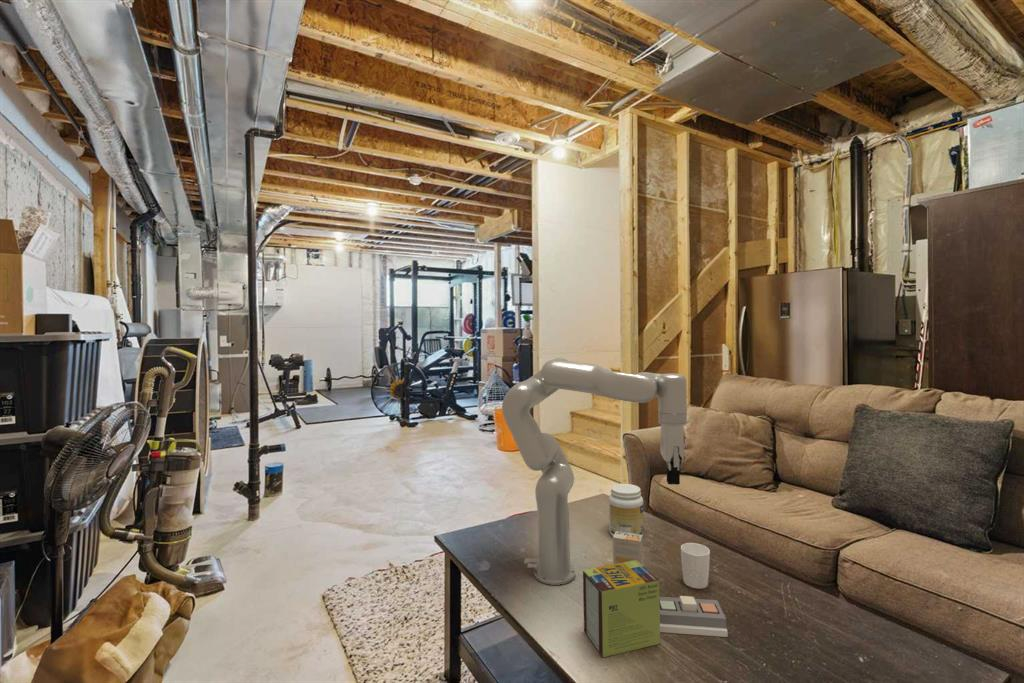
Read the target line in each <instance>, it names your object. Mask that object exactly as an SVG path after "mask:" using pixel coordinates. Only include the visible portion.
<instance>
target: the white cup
mask: <svg viewBox="0 0 1024 683" xmlns="http://www.w3.org/2000/svg"><path fill="white" fill-rule="evenodd" d="M710 552H711V550H710V549H709V548H708V547H707V546H706V545H704V544H700V543H697V542H686V543H683V544H682V545H681V546H680V557H681V569H682V570H681V572H682V581H683V583H684V584H685V586H688V587H689V588H691V589H697V590H699V589H700V590H701V589H705V588H707V587H708V586H709V576H710V559H711V558H710V554H711V553H710Z"/></svg>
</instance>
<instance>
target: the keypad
mask: <svg viewBox="0 0 1024 683" xmlns="http://www.w3.org/2000/svg"><path fill="white" fill-rule="evenodd" d="M694 599H695V601H696V604H697V612H682V610H681V607H680V597H674V596H673V597H670V596H669V597H668V596H659V602H660V601H673V602H674V605H675V608H676V611H666V610H660V633H664V634H665V633H667V634H681V635H692V636H693V635H694V636H695V635H696V636H707V637H708V636H709V637H721V638H728V631H729V630H728V629H727V617H726V616H725V613H724V612H723V610H722V607H721V605H720V604H719V601H718V600H717V599H703V598H694ZM700 603H706V604H714V605H715V607H716V609H717V611H718V614H712V613H702V611H701V609H700Z"/></svg>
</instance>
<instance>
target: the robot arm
mask: <svg viewBox="0 0 1024 683" xmlns="http://www.w3.org/2000/svg"><path fill="white" fill-rule="evenodd" d="M558 390H565V391H572V392H579V393H585V394H591V395H595V396H598V397H604V398H608V399H613V400H617V401H623V402H624V401H625V402H632V403H637V404H638V403H639V404H643V403H648V402H651V401H652V400H653V399H654V398H656V397H657V411H658V412H657V414H658V415H657V416H658V417H657V418H658V421H657V423H658V424H659V425H660V444H659V445H660V448H659V453H660V455H661V457H662V459H663V460H664V461H665V462H666V483H667V485H680V483H681V481H680V478H681V476H680V475H681V474H680V463H681V462H684V460H685V459H684V458H685V441H684V440H685V439H684V437H685V436H684V433H685V432H684V426H686V425H688V419H687V418H688V411H687V410H688V407H687V406H688V402H687V401H688V400H687V378H686V376H685V375H684V374H683V373H671V372H669V373H655V372H649V371H641V372H638V373H636V374H630V373H623V372H618V371H613V370H610V369H606V368H604V367H602V366H601V365H598V364H594V363H593V364H592V363H583V362H577V361H576V362H575V361H569V360H568V359H566V358H561V357H556V358H553V359H550V360H547V361H546V362H545V363H544V364H543V365H542V367H541V368H540V370H539V371H537V372H536V373H535V374H533V375H532V376H530V377H529V378H528V379H524V380H523V381H520V382H518V383H516V384H514V385H513V386H512V387H511V388H509V389H508V391H507V393H506V394H505V396H504V398H503V400H502V403H501V404H502V405H501V412H502V416H503V420H504V422H505V424H506V426H507V428H508V430H509V432H510V433H511V436H512V438H513V440H514V442H515V445H516V448H517V449H518V450H519V453H520V455H521V458H522V460H523V462H524V463H525V465H526V467H528V468H529V469H530V470H532V471H533V472H534V471H536V472H539V471H541V476H540V477H539V478H538V480H537V482H536V485H535V490H534V491H535V501H536V510H537V528H538V529H537V533H538V534H537V535H538V536H537V537H538V541H537V542H538V554H537V555H538V556H537V557H534V558H531V557H528V558H527V557H526V558H524V566H527V569H534V570H533V575H534V578H535V577H536V578H537V579H538V580H537V579H536V578H535V579H536V580H537V581H539V582H540V583H542V582H543V584H545V583H546V585H549V584H550V586H553V585H554V586H561V585H560V584H562V585H566V584H569V583H571V582H572V581H573V580H575V578H576V570H575V567H574V566H572V565H571V546H570V545H571V543H570V540H571V538H570V536H571V535H570V508H569V500H568V499H569V498H568V496H569V493H570V491H571V489H573V488H572V487H573V485H574V483H575V476H574V472H573V469H572V467H571V465H570V463H569V461H568V459H567V456H566V455H565V454H564V450H563V449H562V447H561V445H560V443H559V441H558V440H557V439H556V438H555V437H554V436H553V434H550V433H547V432H542V431H541V429H540V427H539V425H538V423H537V421H536V419H535V418H534V417H533V416H532V414H531V409H532V408H533V407H535V406H537V405H538V404H541V403H542V402H543V401H544V400H546V399H547V398H549V397H550V396H551V395H553V394H554V393H556V392H557V391H558Z"/></svg>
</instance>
